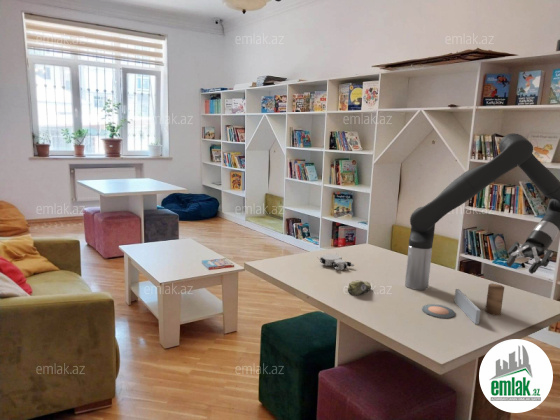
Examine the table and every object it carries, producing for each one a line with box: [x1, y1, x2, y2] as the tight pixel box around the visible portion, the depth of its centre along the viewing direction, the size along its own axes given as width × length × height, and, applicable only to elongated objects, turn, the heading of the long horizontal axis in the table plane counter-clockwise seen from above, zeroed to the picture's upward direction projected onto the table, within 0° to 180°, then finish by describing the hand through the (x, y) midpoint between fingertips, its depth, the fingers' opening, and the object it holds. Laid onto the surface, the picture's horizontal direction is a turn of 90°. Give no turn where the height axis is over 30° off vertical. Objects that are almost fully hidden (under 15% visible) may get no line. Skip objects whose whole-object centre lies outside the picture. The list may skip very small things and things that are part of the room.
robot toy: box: [316, 253, 355, 271], centre depth 200 cm, size 12×4×15 cm
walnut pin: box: [484, 283, 505, 316], centre depth 152 cm, size 5×5×10 cm
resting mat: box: [421, 303, 456, 319], centre depth 152 cm, size 11×11×1 cm
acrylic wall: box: [453, 288, 481, 325], centre depth 152 cm, size 20×1×5 cm, turn 177°
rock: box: [347, 280, 372, 297], centre depth 169 cm, size 11×6×10 cm
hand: (519, 268), depth 156 cm, fingers open, 8 cm apart
